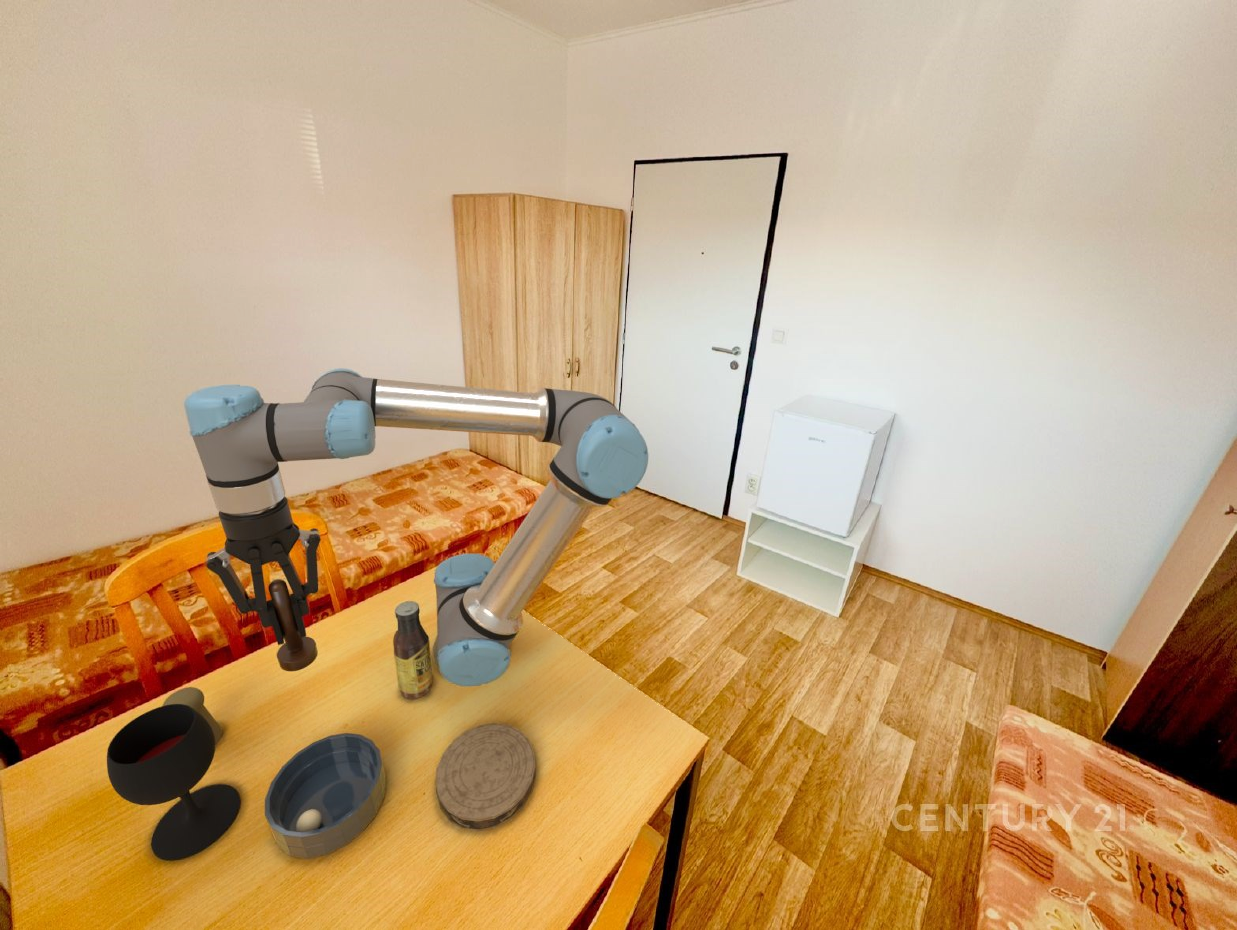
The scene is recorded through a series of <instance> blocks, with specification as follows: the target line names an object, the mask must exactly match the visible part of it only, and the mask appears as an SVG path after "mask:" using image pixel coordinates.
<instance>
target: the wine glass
mask: <svg viewBox="0 0 1237 930" xmlns="http://www.w3.org/2000/svg"><path fill="white" fill-rule="evenodd" d="M215 753H216V745H215V737H214V733H213V730H212V728H211V726H210V725H209V723H208V722H207V720H206V719H205V718H204V717H203V716H202V715H201V714H200V713H198V712H197V711H196V710H194V709H193V708H192V707H190V706H188V705H184V704H170V705H165V706H159V707H155V708H153V709H150V710H148V711H146V712H144V713H142V714H140V715H138V716H136V717H135V718H134V719H132V720H131V721H129V722H128V723H126V724H125V725H124V726H123V727H122V728H121V729H120V730H119V731H118V732H117V733H116V734H115V735H114V737H113V738H112V739H111V741H110V743H109V744H108V747H107V751H106V768H107V776H108V779H109V782H110V784H111V786H112V788H113V790H114V791H115V792H116V793H117V794H118V795H119V796H120V797H121V798H122V799H124V801H127V802H129V803H131V804H134V805H139V806H156V805H161V804H165V803H168V802H171V801H174V800H176V799H178V798H179V799H180V800H179V801H178V802H176V803H175V804H173V805H172V806H171V807H170V808H169V809H168V810H167V812H166V813H165V814H164V815H163V816H162V817H161V818H160V820H159V821H158V823H157V825H156V827H155V828H154V830H153V832H152V836H151V841H150V846H151V850H152V852H153V854H154V855H155V856H156V858H158V859H160V860H162V861H166V862H167V861H169V862H171V861H172V862H175V861H180V860H184V859H188V858H190V857H192V856H195V855H197V854H199V853H201V852H203V851H205V850H206V849H208V848H209V847H211V846H212V845H213V844H214V843H215V842H217V841H218V840H219V839H220V838H221V837H222V836H223V835H224V834H225V833H226V832H227V831H228V830H229V829H230V828H231V826H232V824H233V823H234V822H235V820H236V819H237V817H238V815H239V812H240V808H241V804H242V803H241V802H242V801H241V795H240V793H239V792H238V790H237V789H236V788H235V787H234V786H232V785H230V784H225V783H218V784H217V783H216V784H211V785H206V786H204V787H201V788H199V789H196V790H194V791H193V792H191V790H192V789H193V788H194V787H195V786H196V785H197V784H198V783H199V782H200V781H201V780H202V779H203V778H204V776H205V775H206V774H207V772H208V770H209V769H210V767H211V765H212V763H213V760H214V757H215Z"/></svg>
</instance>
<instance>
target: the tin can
mask: <svg viewBox="0 0 1237 930" xmlns="http://www.w3.org/2000/svg"><path fill="white" fill-rule="evenodd" d="M535 757H536V756H535V749H534V748H533V746H532V744H531V741H530V739H529V738H528V737H527V735H525V734H524V733H523V732H522V731H521V730H520V729H518V728H517V727H515V726H512V725H510V724H508V723H499V722H489V723H483V724H478V725H476V726H473V727H471V728H469V729H467V730H465V731H464V732H462V733H461V734H460V735H459V736H457V737H456V738H455V739H453V740H452V742H451V743H450V744H449V745H448V746H447V748H446V749H445V750H444V752H442V755H441V757H440V760H439V762H438V764H437V767H436V772H435V773H436V774H435V784H434V785H435V791H436V798H437V800H438V805H439V809H440V810H441V812H442V814H444V816H445V817H446V819H447V820H448V821H449V822H450V823H452V824H454V825H455V826H457V827H459V828H461V829H463V830H470V831H478V832H480V831H484V830H489V829H494V828H497V827H499V826H500V825H502V824H504V823H506V822H508V821H510V820H511V819H513V818H514V817H515V816H516V815H517V813H518V812H519V811H521V810H522V809H523V808H524V807H525V805H526V803H527V801H528V799H529V797H530V796H531V794H532V792H533V788H534V784H535V781H536V758H535Z"/></svg>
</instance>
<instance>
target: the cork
mask: <svg viewBox="0 0 1237 930" xmlns="http://www.w3.org/2000/svg"><path fill="white" fill-rule="evenodd" d="M170 704H184V705H188V706H190V707H192V708H193V709H194V710H196V711H197V712H198V713H200V714H201V715H202V716H203V717H204V718H205V719H206V720H207V722H208V723H209V725H210V726H211V728H212V730H213V733H214V737H215V746H216V745H217V744H218V743H219V742H220V741H221V738H222V737H223V730H222V728H221V726H220V725H219V723H218V722H217V720H216V719H215V718H214V717H213V715H212V714H211V712H210V711H209V710H208V708H207V707H206V706H205V705H204V704H205V695H204V692H203V691H202V690H201V689H199V688H198V687H193V686H188V687H184V688H181V689H178V690H176V691H174V692H173V693H171V694H169V696H167V697H166V698H165V700H164V701H163V703H162V706H165V705H170Z"/></svg>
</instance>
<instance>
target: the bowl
mask: <svg viewBox="0 0 1237 930" xmlns="http://www.w3.org/2000/svg"><path fill="white" fill-rule="evenodd" d="M269 784H270V785H269V787H268V790H267V793H266V795H265V798H264V816H265V817H264V818H265V819H266V821H267V824H268V826H269V829H270V832H271V835H272V837H273V839H274V840H275V841H274V842H275V843H276V844H277V846H278V849H279V850H281V852H283V853H285V854H287V855H289V856H291V857H294V858H303V859H312V858H317V857H322V856H326V855H329V854H331V853H333V852H335V851H338V850H339V849H341V848H344V847H345V846H347V845H348V844H350V842H351V841H353V840H354V839H356V837H358V836H359V835H360V834H362V832H364V831H365V829H367V827H368V826H369V824H370V823H371V822H372V821H373V820H374V818H375V817H376V815H377V814H378V811H379V810H380V807H381V805H382V803H383V802H384V799H385V794H386V788H387V781H386V774H385V770H384V765H383V760H382V755H381V751H380V749H379V747H378V746H377V745H376V743H375V742H374V740H372V739H371V738H369V737H366V736H364V735H362V734H359V733H350V732H344V733H338V734H331V735H328V736H326V737H323V738H320V739H318V740H316V741H313V742H312V743H310V744H308V745H306V747H303V748H302V749H301V750H299V751H297V752H296V753H295V754H294V755H293V756H292V757H291V758H290V759H289V760H287V762H286V763H285V764H283V765H282V766H281V768H279V770H278V772H277V773H276V774H275V777H274V778H273V779H272V781H271V782H270V783H269ZM311 809H315V810H318V811H319V812H320V813H321V816H322V821H321V824H320V826H319V828H318V829H317V830H312V831H307V832H297V830H296V823H297V821H298V819H299V817H300V816H301V815H302V814H303V813H304V812H306V811H308V810H311Z"/></svg>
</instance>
